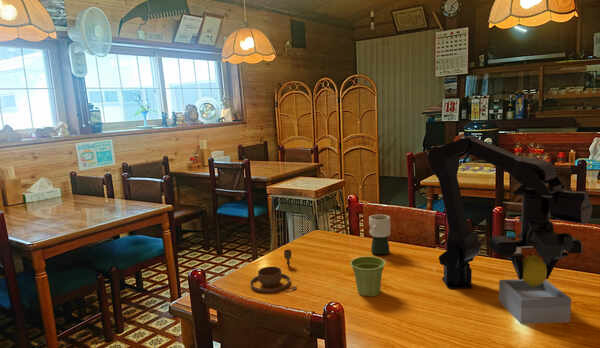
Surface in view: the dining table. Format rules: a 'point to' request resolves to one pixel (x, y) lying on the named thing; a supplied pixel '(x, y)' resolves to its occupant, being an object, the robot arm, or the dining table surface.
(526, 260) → the lemon
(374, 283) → the plant pot
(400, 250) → the dining table surface
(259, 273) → the place setting
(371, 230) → the character mug
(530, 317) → the grey open box
